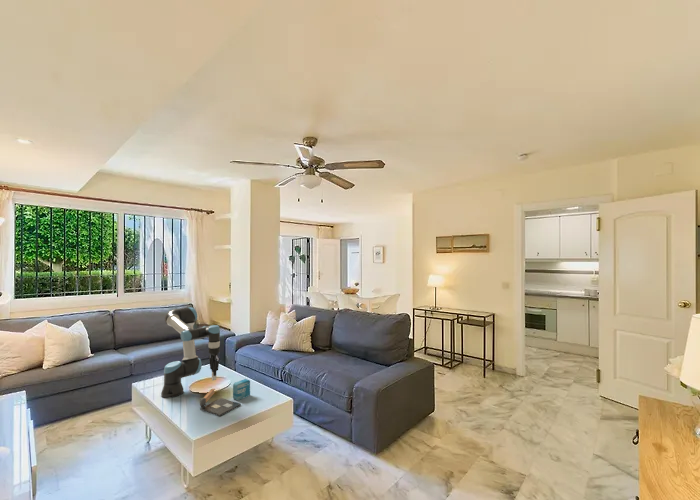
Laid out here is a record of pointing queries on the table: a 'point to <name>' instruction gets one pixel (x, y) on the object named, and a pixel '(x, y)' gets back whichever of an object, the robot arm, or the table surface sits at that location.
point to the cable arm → (206, 397)
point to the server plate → (220, 407)
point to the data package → (241, 389)
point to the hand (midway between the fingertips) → (214, 379)
